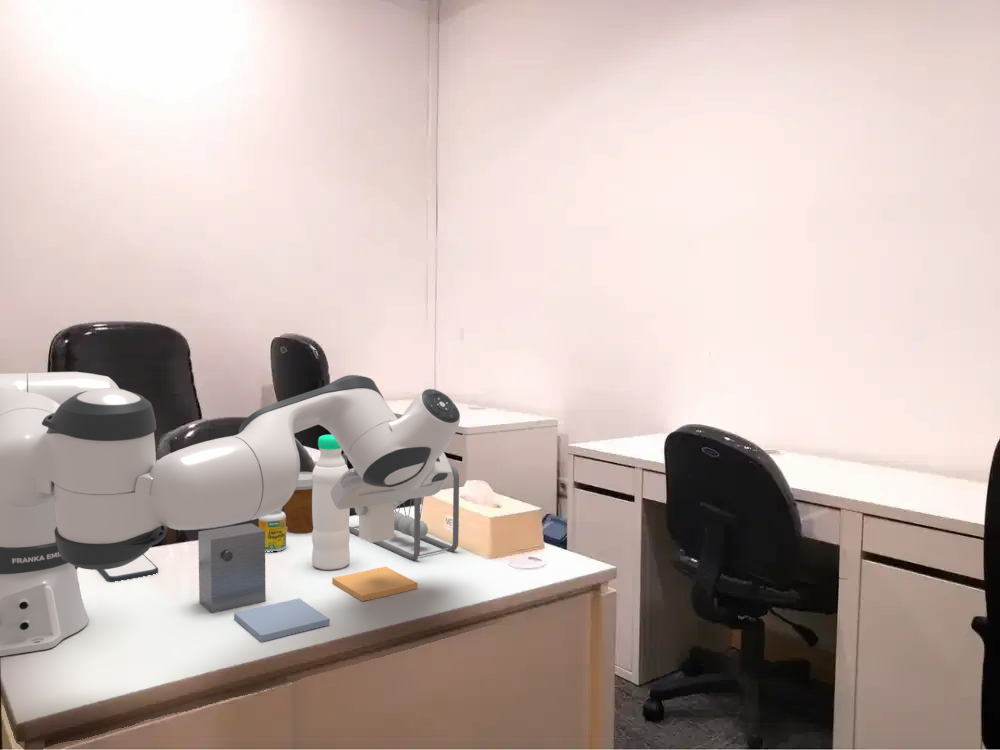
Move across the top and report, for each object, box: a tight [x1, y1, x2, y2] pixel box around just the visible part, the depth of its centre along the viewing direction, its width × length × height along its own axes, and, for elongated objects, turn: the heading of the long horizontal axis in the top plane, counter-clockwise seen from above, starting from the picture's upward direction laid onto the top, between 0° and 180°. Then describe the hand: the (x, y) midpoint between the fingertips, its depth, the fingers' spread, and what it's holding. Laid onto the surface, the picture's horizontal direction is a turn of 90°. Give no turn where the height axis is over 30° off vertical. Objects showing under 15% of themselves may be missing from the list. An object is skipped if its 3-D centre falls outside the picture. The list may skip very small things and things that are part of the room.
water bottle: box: [311, 434, 351, 571], centre depth 156 cm, size 7×7×25 cm
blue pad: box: [233, 597, 330, 643], centre depth 128 cm, size 11×11×1 cm
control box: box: [197, 523, 267, 614], centre depth 136 cm, size 9×7×12 cm
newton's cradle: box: [341, 452, 460, 561], centre depth 173 cm, size 30×10×18 cm, turn 40°
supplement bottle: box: [258, 507, 287, 552], centre depth 166 cm, size 5×5×10 cm
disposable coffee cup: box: [283, 471, 313, 534], centre depth 180 cm, size 10×10×12 cm
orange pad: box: [331, 566, 419, 602], centre depth 145 cm, size 11×11×1 cm
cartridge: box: [358, 502, 395, 544], centre depth 144 cm, size 5×5×9 cm
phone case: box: [97, 553, 159, 583], centre depth 154 cm, size 9×2×16 cm
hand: (374, 509), depth 145 cm, fingers closed on cartridge, 4 cm apart
